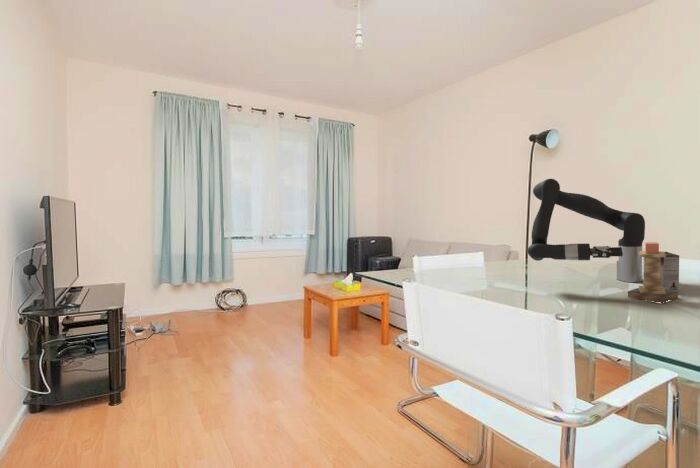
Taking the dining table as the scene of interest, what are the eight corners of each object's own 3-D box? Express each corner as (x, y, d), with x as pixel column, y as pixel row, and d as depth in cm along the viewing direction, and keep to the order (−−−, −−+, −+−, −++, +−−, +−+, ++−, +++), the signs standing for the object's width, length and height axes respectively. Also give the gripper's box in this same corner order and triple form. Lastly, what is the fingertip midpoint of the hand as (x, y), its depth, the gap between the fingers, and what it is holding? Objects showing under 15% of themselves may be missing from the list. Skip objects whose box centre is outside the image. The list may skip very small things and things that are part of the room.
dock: (627, 297, 154) (627, 290, 154) (643, 292, 159) (643, 285, 159) (661, 304, 143) (661, 296, 143) (677, 298, 148) (677, 291, 148)
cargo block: (646, 253, 149) (645, 243, 148) (645, 251, 152) (645, 242, 151) (658, 253, 146) (658, 243, 146) (657, 252, 150) (657, 242, 149)
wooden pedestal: (640, 292, 150) (640, 254, 148) (638, 287, 156) (638, 251, 155) (665, 294, 145) (665, 254, 144) (663, 289, 152) (663, 251, 150)
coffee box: (649, 287, 165) (649, 252, 164) (666, 286, 164) (666, 251, 163) (662, 292, 157) (662, 255, 155) (680, 292, 155) (680, 255, 154)
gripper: (576, 246, 158) (622, 245, 149) (577, 241, 169) (621, 240, 160) (576, 263, 159) (623, 263, 149) (578, 257, 170) (621, 257, 161)
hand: (622, 251), depth 155 cm, fingers open, 8 cm apart
